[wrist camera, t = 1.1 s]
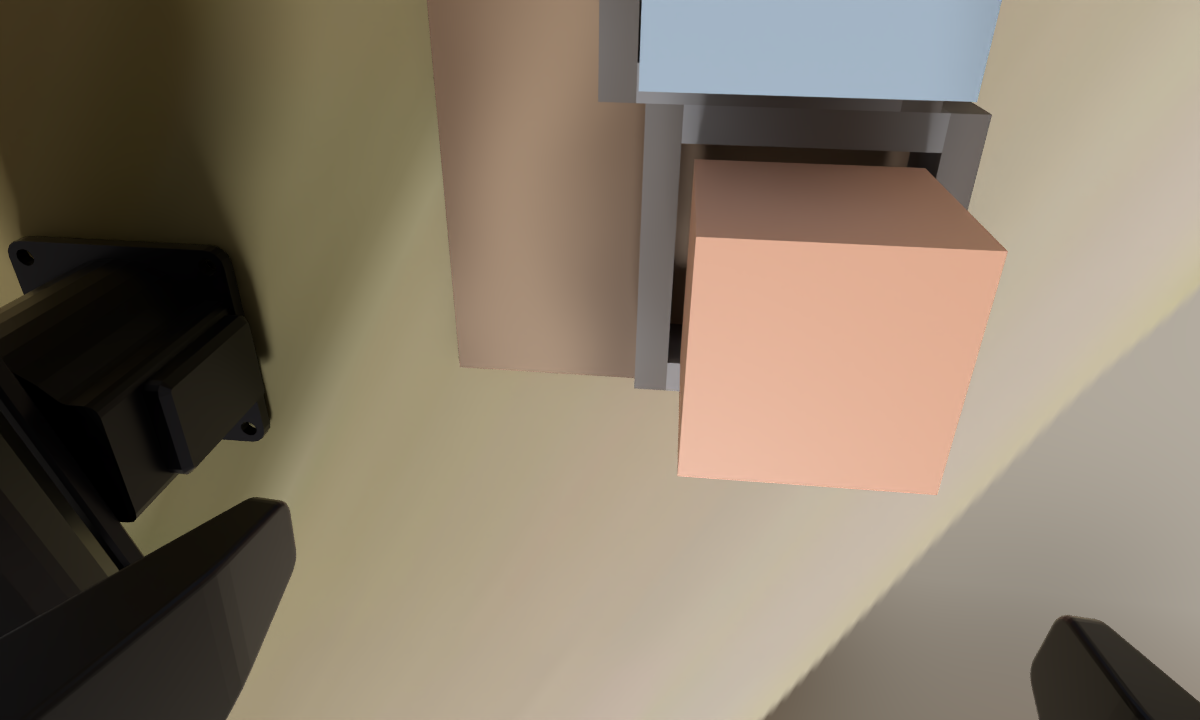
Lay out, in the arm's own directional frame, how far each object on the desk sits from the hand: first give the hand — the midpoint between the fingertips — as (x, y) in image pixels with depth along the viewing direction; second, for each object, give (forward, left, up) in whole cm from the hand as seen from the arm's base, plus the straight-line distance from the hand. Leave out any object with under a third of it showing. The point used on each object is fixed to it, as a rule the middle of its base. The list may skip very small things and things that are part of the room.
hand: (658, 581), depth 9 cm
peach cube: (+3, 0, -10) cm, 10 cm away
